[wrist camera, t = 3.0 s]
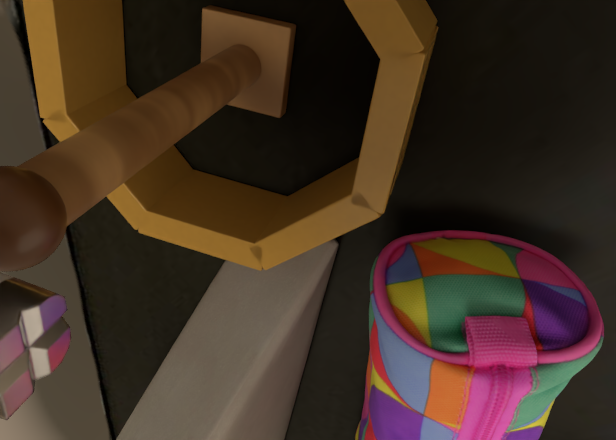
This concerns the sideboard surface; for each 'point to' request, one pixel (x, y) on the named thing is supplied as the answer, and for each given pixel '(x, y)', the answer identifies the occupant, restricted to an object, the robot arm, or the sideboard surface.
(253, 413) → the grey wedge
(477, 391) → the pencil case
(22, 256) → the hanger post
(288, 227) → the brass ring
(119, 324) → the sideboard surface
